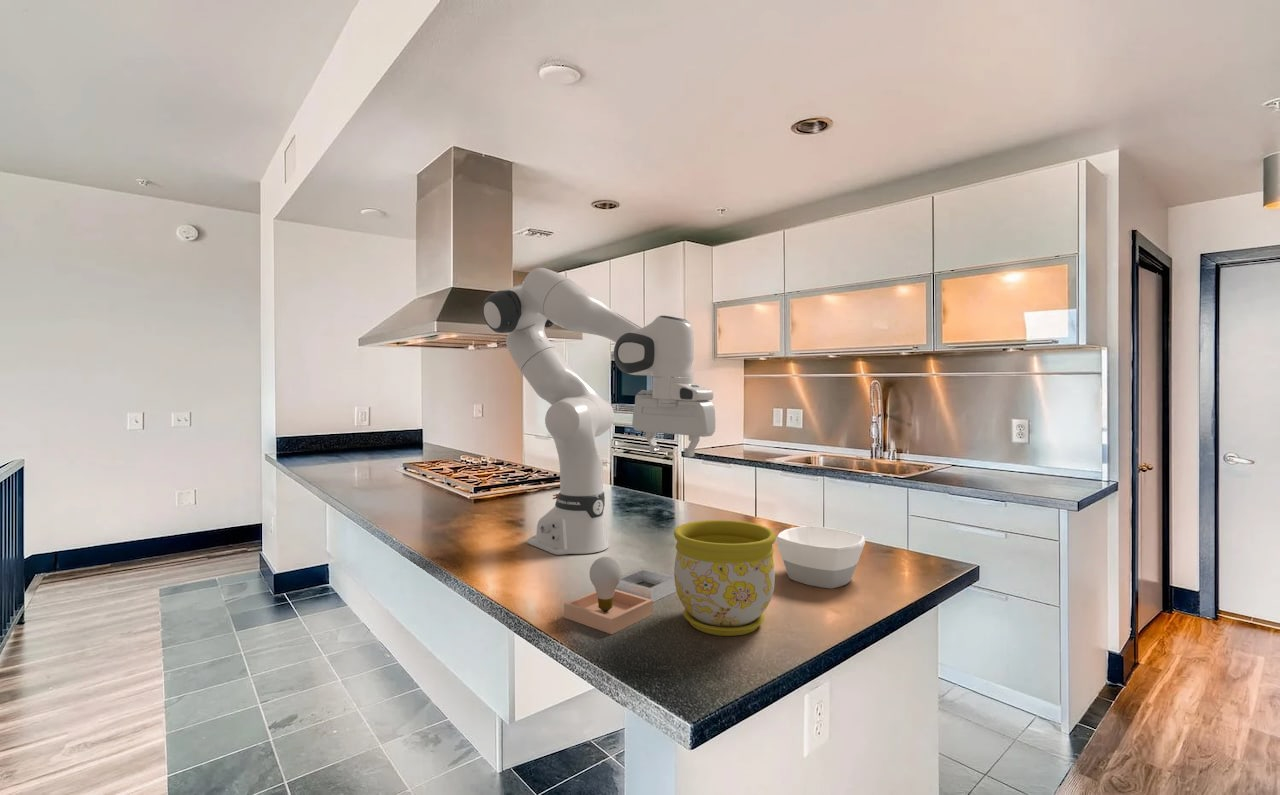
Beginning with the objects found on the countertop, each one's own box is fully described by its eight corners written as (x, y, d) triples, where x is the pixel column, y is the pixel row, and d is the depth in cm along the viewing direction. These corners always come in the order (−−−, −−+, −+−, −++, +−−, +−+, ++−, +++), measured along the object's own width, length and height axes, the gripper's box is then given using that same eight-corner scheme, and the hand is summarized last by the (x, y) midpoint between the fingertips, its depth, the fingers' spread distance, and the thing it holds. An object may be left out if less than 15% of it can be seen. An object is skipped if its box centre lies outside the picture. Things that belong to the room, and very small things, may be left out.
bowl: (763, 579, 132) (763, 536, 132) (802, 561, 145) (803, 522, 145) (841, 599, 120) (841, 552, 120) (876, 578, 133) (877, 535, 133)
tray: (563, 617, 110) (563, 603, 110) (606, 599, 119) (606, 586, 119) (611, 634, 103) (611, 619, 103) (653, 614, 112) (653, 600, 112)
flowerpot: (704, 651, 97) (705, 549, 96) (657, 611, 113) (657, 524, 113) (796, 632, 104) (797, 538, 103) (738, 598, 120) (739, 516, 120)
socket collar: (610, 591, 124) (610, 579, 124) (642, 578, 132) (642, 567, 132) (650, 603, 117) (650, 591, 117) (681, 588, 125) (681, 577, 125)
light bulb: (606, 602, 116) (606, 551, 116) (627, 611, 112) (628, 557, 111) (582, 611, 112) (582, 557, 111) (604, 620, 107) (604, 564, 107)
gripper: (626, 389, 135) (625, 451, 136) (703, 392, 122) (702, 460, 123) (644, 389, 140) (643, 449, 140) (720, 392, 127) (718, 457, 127)
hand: (671, 454), depth 131 cm, fingers open, 8 cm apart
